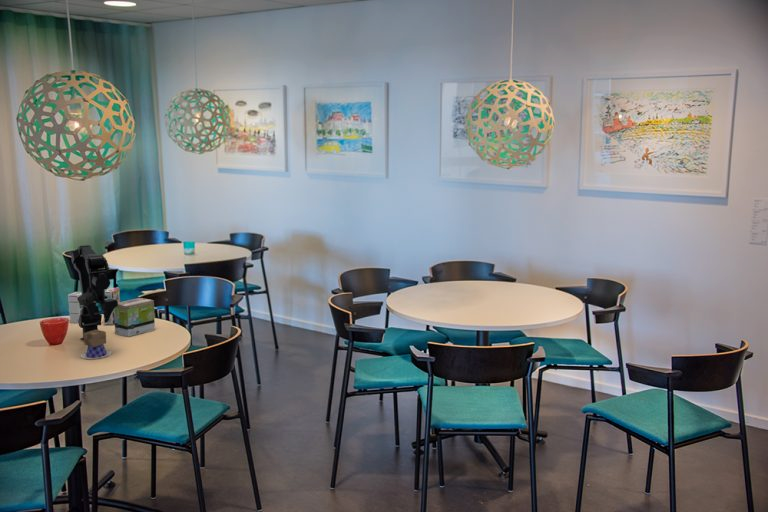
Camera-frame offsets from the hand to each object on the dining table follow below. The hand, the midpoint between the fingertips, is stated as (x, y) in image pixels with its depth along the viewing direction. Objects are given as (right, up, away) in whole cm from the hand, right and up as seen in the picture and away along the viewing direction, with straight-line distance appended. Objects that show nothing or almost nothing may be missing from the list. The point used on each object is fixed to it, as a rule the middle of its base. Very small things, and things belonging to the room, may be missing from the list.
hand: (99, 320), depth 290 cm
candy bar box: (-12, -5, +45) cm, 46 cm away
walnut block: (+1, -9, -7) cm, 11 cm away
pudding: (+1, -14, -6) cm, 16 cm away
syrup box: (-29, -5, +45) cm, 54 cm away
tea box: (+5, -8, +28) cm, 30 cm away
